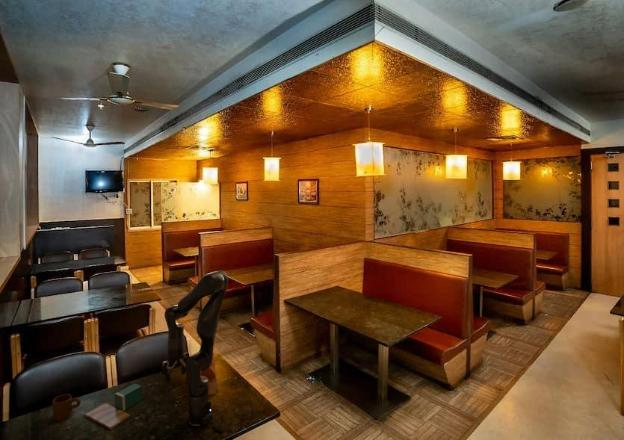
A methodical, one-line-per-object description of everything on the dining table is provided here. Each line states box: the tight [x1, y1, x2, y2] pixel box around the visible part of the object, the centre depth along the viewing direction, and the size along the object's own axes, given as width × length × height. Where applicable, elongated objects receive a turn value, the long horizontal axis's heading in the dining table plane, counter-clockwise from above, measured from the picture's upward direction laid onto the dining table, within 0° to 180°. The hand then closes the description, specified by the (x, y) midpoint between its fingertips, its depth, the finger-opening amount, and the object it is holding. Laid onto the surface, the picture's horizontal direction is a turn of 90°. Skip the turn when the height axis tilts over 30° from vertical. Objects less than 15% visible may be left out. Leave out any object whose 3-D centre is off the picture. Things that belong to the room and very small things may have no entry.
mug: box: [51, 393, 82, 422], centre depth 169 cm, size 12×8×9 cm, turn 97°
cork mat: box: [84, 402, 132, 430], centre depth 169 cm, size 20×10×1 cm, turn 63°
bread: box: [201, 354, 218, 396], centre depth 197 cm, size 25×12×15 cm, turn 18°
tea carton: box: [114, 383, 143, 412], centre depth 179 cm, size 6×11×8 cm, turn 153°
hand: (175, 377), depth 171 cm, fingers open, 8 cm apart
